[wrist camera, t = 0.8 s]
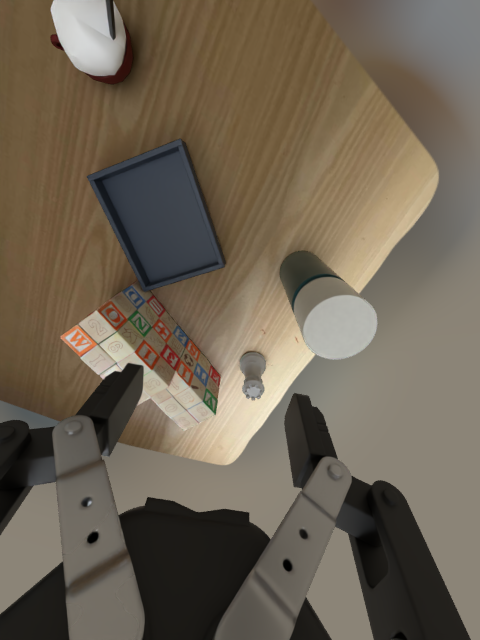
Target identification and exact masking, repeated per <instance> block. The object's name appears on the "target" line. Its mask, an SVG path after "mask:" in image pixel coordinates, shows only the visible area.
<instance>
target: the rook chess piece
mask: <svg viewBox="0 0 480 640" xmlns="http://www.w3.org/2000/svg"><path fill="white" fill-rule="evenodd" d="M240 369H241V371H242V373H243V374H244V375H245V380H244V385H243V387H242V391H243V393H244V394H245V395H246V398H248V399H249V398H252V400H255V398H257V399H259V398H261V395H262V394H263V392H264V386H263V384H262V379H261V375H262V374H263V373H264V371H265V369H266V361H265V358H264V357H263V356H262V355H261V354H259V353H256V352H250V353H247V354H245V355H244V356H242V358H241V360H240Z"/></svg>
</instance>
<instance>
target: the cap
mask: <svg viewBox="0 0 480 640" xmlns="http://www.w3.org/2000/svg"><path fill="white" fill-rule="evenodd" d="M294 315H295V318H296V320H297V323H298V325H299V328H300V331H301V333H302V336H303V338H304V341H305V343H306V345H307V347H308V348H309V349H310V350H311V351H312V352H313V353H315V354H316V355H318V356H320V357H323V358H326V359H343V358H348V357H351V356H353V355H355V354H357V353H359V352H360V351H362V350H363V349H364V348H365V347H366V346H367V345H368V344H369V343H370V342H371V341H372V339H373V337H374V335H375V333H376V330H377V315H376V312H375V310H374V308H373V307H372V306H371V304H370V303H369V302H367V301H366V300H365V299H364V298H363V297H362V296H361V295H360V294H358V293H357V292H356V291H355V290H354V289H353V288H352V287H350V286H349V285H348V284H347V283H346V282H344V281H343V280H341V279H338V278H334V277H322V278H318V279H315V280H313V281H311V282H309V283H308V284H307V285H305V286H304V287H303V288H302V289H301V290H300V292H299V293H298V295H297V297H296V299H295V302H294Z"/></svg>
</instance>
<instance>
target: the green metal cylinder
mask: <svg viewBox="0 0 480 640" xmlns="http://www.w3.org/2000/svg"><path fill="white" fill-rule="evenodd" d="M322 277H334V278H338V279H341V278H340V277H339V276H338V275H337V274H336V273H335V272H334V271H332V270H331V269H330V268H329V267H328V266H327V265H326V264H324V263H323V262H322V261H321V260H320V259H319V258H318V257H317V256H315V255H314V254H313V253H311V252H308V251H298V252H294V253H292V254H290V255H289V256H288V257H287V258H286V259H285V260H284V261H283V263H282V265H281V268H280V278H281V281H282V284H283V287H284V289H285V292H286V294H287V297H288V300H289V302H290V305H291V307H292V310H293V312H294V302H295V299H296V297H297V295H298V293H299V292H300V290H301V289H302V288H303V287H304V286H305V285H307V284H308V283H309V282H311V281H313V280H315V279H318V278H322ZM341 280H343V279H341ZM343 281H344V280H343ZM344 282H345V281H344Z"/></svg>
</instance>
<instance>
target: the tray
mask: <svg viewBox="0 0 480 640" xmlns="http://www.w3.org/2000/svg"><path fill="white" fill-rule="evenodd" d="M87 178H88V180H89V181H90V184H91V186H92V188H93V190H94V192H95V194H96V196H97V198H98V200H99V202H100V204H101V206H102V208H103V210H104V212H105V214H106V216H107V218H108V220H109V222H110V225H111V227H112V229H113V231H114V233H115V235H116V237H117V239H118V241H119V243H120V245H121V247H122V249H123V251H124V253H125V255H126V257H127V259H128V261H129V263H130V265H131V267H132V269H133V271H134V273H135V275H136V277H137V279H138V281H139V283H140V285H141V287H142V289H143V291H144V292H146V291H149V290H152V289H155V288H159V287H162V286H165V285H168V284H172V283H175V282H178V281H181V280H185V279H188V278H191V277H194V276H197V275H201V274H204V273H207V272H210V271H214V270H217V269H220V268H223V267H225V264H226V262H225V259H224V256H223V253H222V250H221V247H220V244H219V241H218V238H217V235H216V232H215V229H214V226H213V223H212V220H211V217H210V214H209V211H208V208H207V205H206V202H205V200H204V197H203V194H202V191H201V188H200V185H199V182H198V179H197V176H196V173H195V170H194V167H193V164H192V161H191V158H190V155H189V152H188V149H187V146H186V143H185V142H184V141H182V140H181V139H178V140H176V141H173V142H171V143H168V144H166V145H163V146H161V147H158V148H156V149H153V150H151V151H148V152H146V153H143V154H141V155H138V156H136V157H133V158H131V159H128V160H126V161H123V162H121V163H118V164H116V165H113V166H111V167H108V168H106V169H103V170H101V171H98V172H96V173H93V174H91V175H88V176H87Z"/></svg>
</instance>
